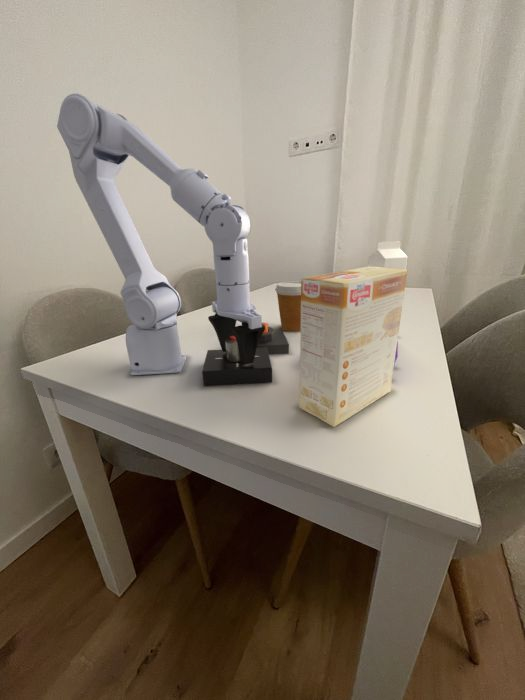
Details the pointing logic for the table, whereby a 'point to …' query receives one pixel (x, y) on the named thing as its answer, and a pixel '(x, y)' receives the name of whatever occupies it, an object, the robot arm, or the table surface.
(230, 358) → the knob
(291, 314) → the disposable coffee cup
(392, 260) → the milk
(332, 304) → the coffeecake box
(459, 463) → the table surface
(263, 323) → the button
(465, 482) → the table surface
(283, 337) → the button block
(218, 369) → the dial panel
